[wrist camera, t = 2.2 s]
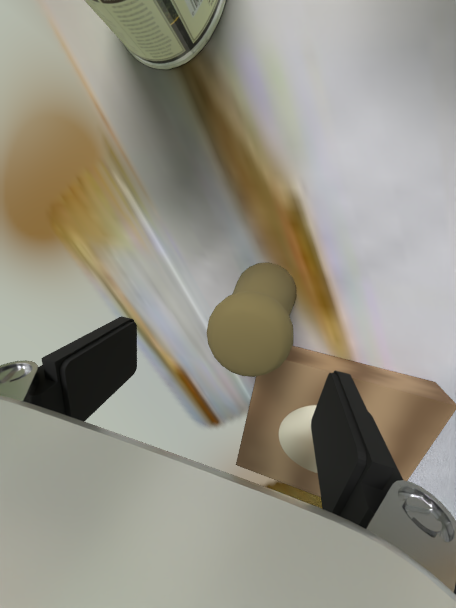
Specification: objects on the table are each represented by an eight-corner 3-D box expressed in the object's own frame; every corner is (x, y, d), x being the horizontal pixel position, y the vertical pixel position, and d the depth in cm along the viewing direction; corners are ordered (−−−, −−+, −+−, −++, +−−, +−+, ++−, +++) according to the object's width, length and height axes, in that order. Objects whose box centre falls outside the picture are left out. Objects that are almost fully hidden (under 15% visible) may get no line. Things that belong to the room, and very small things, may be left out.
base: (435, 382, 20) (459, 407, 17) (370, 489, 26) (380, 520, 23) (264, 338, 23) (261, 354, 20) (241, 442, 29) (235, 465, 26)
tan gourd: (280, 330, 23) (272, 411, 13) (227, 306, 23) (180, 364, 13) (308, 277, 20) (326, 325, 10) (248, 252, 21) (210, 274, 11)
